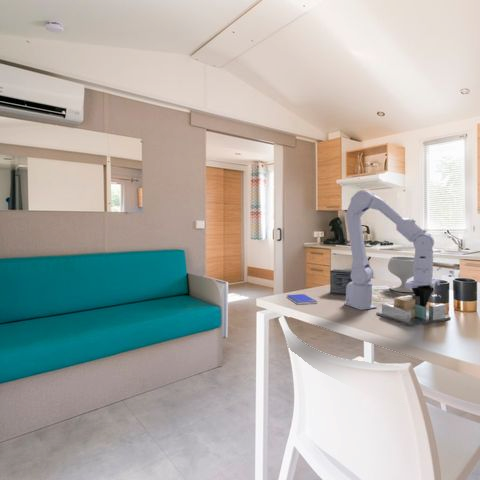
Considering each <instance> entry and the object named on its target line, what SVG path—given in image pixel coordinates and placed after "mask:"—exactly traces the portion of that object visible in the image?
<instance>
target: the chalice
mask: <svg viewBox="0 0 480 480" xmlns="http://www.w3.org/2000/svg"><path fill="white" fill-rule="evenodd" d="M387 269H388V271H389V273H391V274H393V275H394V276H396V277H397V278H399V280H400V281H401V284H400V285H393V286H389V289H390V290H392V291H394V292H398V293H399V292H401V293H414V292H413V290H412V289H407V288H405V282H408V280H409V279H411V278H414V257H411V256H392V257H390V259H389V261H388V264H387Z"/></svg>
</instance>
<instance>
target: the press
mask: <svg viewBox="0 0 480 480" xmlns="http://www.w3.org/2000/svg"><path fill="white" fill-rule="evenodd" d="M412 296H413V295H411V294H410V295H403V296H402V295H401V296H400V297H407V298H411V299H412ZM446 313H447V304H444V303H435V304H432V305H429V306H428V310H427V309H426V318H419V317H413V318H411V311H410V310H407V309H404V308H400V307H397V306H394V304H391V303H385V302H384V303H381V311H377V312H376V315H377V316H379V317H382V318H384V319H388V320H390V321H393V322H396V323H399V324H401V325H404V326H407V327H410V328H411V327H418V326H423V325H427V324H433V323H438V322H444V321H449V320H451V319H452V317H451V316H448V315H447V314H446Z"/></svg>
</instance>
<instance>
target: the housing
mask: <svg viewBox="0 0 480 480" xmlns="http://www.w3.org/2000/svg"><path fill="white" fill-rule="evenodd" d="M393 300H394V301H393V305H394V306H397V307H400V308H404V309H407V310H410V311H411V318H413V317H415V299H411V298H407V297H401V296H397V297H394V299H393Z"/></svg>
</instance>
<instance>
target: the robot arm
mask: <svg viewBox="0 0 480 480" xmlns="http://www.w3.org/2000/svg"><path fill="white" fill-rule="evenodd" d="M370 209H372V210H377V211H379V212H380V213H381V214H382V215H384V216H385V217H386V218H387V219H388V220H390V221H391V222H392V223H394V224H395V225H396V227H395V228H396V231H397V232H398V233H400V234H401V235H402V236H403V237H404V238H405V240H407V241H408V242H409V243H412V244H413V247H414V255H413V258H414V276H413V279H412V280H409V281H406V282H405V288H407V289H412V290H413V292H412V293H413V294H414V295H416V296H420V306H423V307H427V304H428V301H429V299H430V297H431V295H432V294H433V292H434V290H435V288H434V286H440V285H441V283H440V282H441V281H440V279H436V278H433V272H434V269H433V267H434V256H433V255H434V250H433V247H434V246H435V240H434V237H433V236H432V234H430V233H427V230H426V229H422V228H421V227H420V226H419V225H418V223H417V224H416V220H415V219H414V218H412V219H411V218H409V217H402V216H401V215H400V214H399V212H397V211H396V210H395V209H394V208H393V207H391V206H390V204H388V203H387V202H386V200H383V199H382V198H381V197H379V196H378V195H376V194H375V193H374V192H372V191H367V190H363V189H362V190H358V191H356V193H354V194H353V195H352V197H351V198H350V203H349V205H348V208H347V211H346V213H345V218H346V225H347V230H348V238H349V243H350V250H351V257H352V262H351V271H352V272H351V279H352V282H350V283H348V285H347V287H346V295H345V302H344V304H343V305H347V306H348V307H352V308H355V309H356V310H360V311H363V310H370V309H377V308H378V306H376V305H373V303H372V301H373V299H372V298H373V282H372V281H371V279H372V278H373V277H374V270H373V268H372V266H371V264H370V261H369V259H368V257H367V250H366V245H365V239H364V233H363V232H364V231H363V227H362V220H361V217H363V215H364V214H365V212H366V211H368V210H370ZM432 286H433V287H432Z"/></svg>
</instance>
